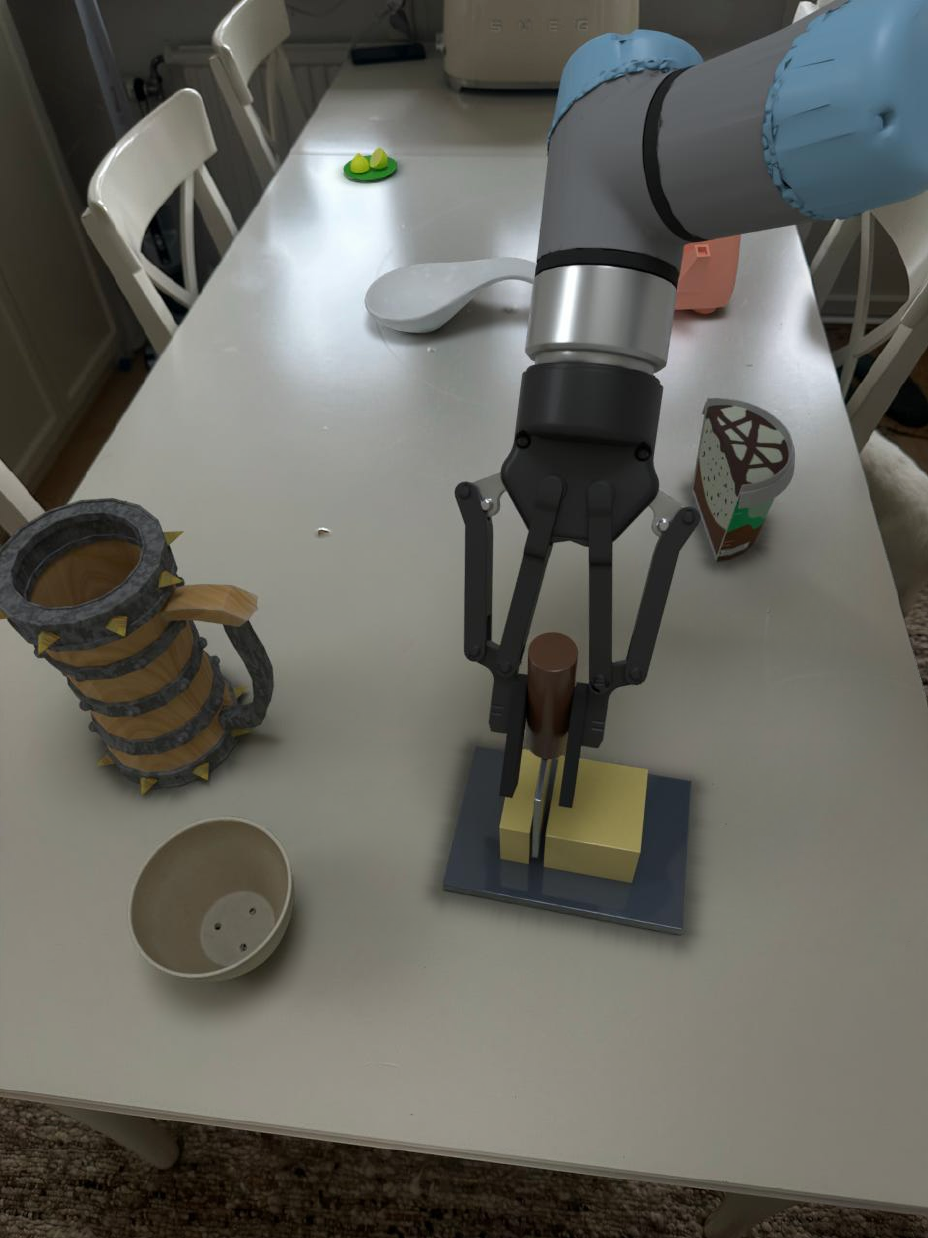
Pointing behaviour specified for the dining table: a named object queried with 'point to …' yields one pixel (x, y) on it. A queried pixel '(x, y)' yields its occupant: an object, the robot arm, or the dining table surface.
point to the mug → (134, 638)
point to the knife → (548, 712)
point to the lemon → (370, 166)
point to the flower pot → (212, 900)
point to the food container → (739, 472)
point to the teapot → (708, 274)
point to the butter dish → (568, 888)
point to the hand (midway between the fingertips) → (537, 793)
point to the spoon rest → (437, 290)
